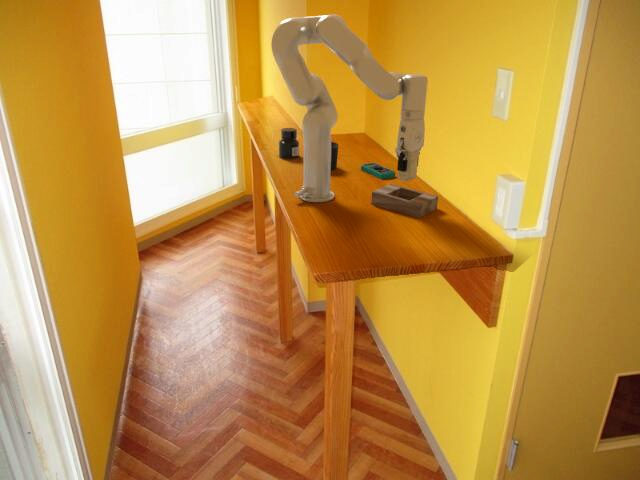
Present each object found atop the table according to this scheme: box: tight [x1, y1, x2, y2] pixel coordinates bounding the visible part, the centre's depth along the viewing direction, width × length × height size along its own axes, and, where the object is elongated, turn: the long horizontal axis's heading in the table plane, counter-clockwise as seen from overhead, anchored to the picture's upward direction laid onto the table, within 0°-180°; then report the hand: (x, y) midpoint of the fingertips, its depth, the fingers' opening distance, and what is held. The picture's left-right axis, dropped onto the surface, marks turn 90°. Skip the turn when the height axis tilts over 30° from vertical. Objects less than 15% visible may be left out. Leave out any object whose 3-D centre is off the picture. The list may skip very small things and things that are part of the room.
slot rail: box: [370, 183, 439, 219], centre depth 183 cm, size 12×19×4 cm, turn 50°
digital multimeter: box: [360, 162, 397, 180], centre depth 218 cm, size 7×15×3 cm, turn 32°
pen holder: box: [331, 141, 339, 171], centre depth 221 cm, size 9×9×10 cm
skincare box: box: [397, 147, 419, 183], centre depth 177 cm, size 6×4×12 cm
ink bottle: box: [278, 127, 300, 159], centre depth 236 cm, size 10×9×12 cm
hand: (407, 168), depth 178 cm, fingers closed on skincare box, 6 cm apart
